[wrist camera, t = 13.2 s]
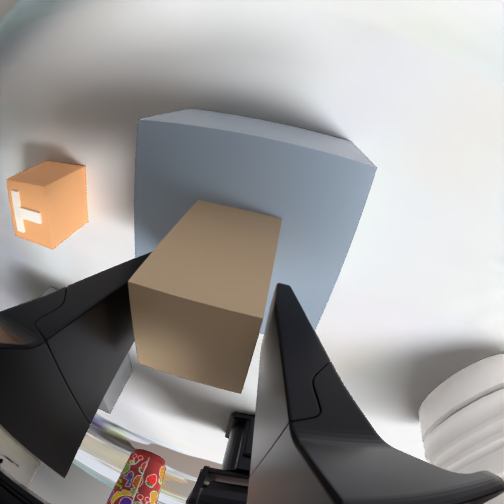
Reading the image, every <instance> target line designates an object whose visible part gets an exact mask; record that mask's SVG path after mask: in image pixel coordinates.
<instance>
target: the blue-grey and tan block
mask: <svg viewBox="0 0 504 504" xmlns="http://www.w3.org/2000/svg"><path fill="white" fill-rule="evenodd" d="M376 169H377V167H376V166H375V165H374V164H373V163H372V162H371V161H370V160H369V159H368V158H367V157H366V156H365V155H364V154H363V153H362V152H361V151H360V150H359V149H358V148H357V147H356V146H355V145H354V144H353V143H352V142H351V141H347V140H344V139H340V138H337V137H333V136H330V135H326V134H322V133H318V132H314V131H310V130H306V129H302V128H298V127H294V126H290V125H285V124H280V123H276V122H271V121H266V120H261V119H256V118H250V117H245V116H239V115H233V114H227V113H220V112H214V111H206V110H199V109H186V110H180V111H175V112H170V113H165V114H160V115H155V116H151V117H146V118H142V119H138V130H137V144H136V161H135V193H134V227H135V258H137V257H139V256H142V255H144V254H147V253H149V252H152V253H151V254H150V255H149V256H148V258H147V259H146V260H145V261H144V262H143V264H142V265H141V266H140V267H139V268H138V270H137V271H136V272H135V273H134V274H133V276H132V277H131V278H130V279H129V281H128V288H129V298H130V307H131V315H132V323H133V330H134V337H135V344H136V350H137V356H138V362H139V363H140V364H143V365H145V366H148V367H151V368H154V369H157V370H160V371H163V372H166V373H169V374H172V375H175V376H178V377H181V378H185V379H188V380H191V381H195V382H198V383H202V384H205V385H209V386H213V387H216V388H220V389H224V390H228V391H232V392H236V393H240V394H241V392H242V389H243V386H244V382H245V379H246V376H247V373H248V369H249V366H250V363H251V359H252V356H253V352H254V349H255V346H256V342H257V339H258V335H259V333H261V334H264V332H265V328H266V323H267V318H268V314H269V309H270V305H271V301H272V298H273V294H274V291H275V287H276V284H277V283H282V284H287V285H290V286H291V288H292V290H293V292H294V293H295V295H296V297H297V299H298V301H299V303H300V304H301V306H302V308H303V310H304V312H305V314H306V316H307V317H308V319H309V321H310V323H311V325H312V327H313V329H314V331H315V329H316V327H317V325H318V323H319V320H320V318H321V316H322V314H323V311H324V309H325V307H326V304H327V302H328V300H329V297H330V295H331V293H332V290H333V288H334V286H335V283H336V281H337V278H338V276H339V273H340V271H341V268H342V266H343V263H344V261H345V258H346V255H347V253H348V250H349V248H350V245H351V242H352V240H353V237H354V234H355V231H356V229H357V226H358V223H359V220H360V217H361V215H362V212H363V209H364V206H365V203H366V200H367V197H368V194H369V191H370V188H371V185H372V182H373V179H374V175H375V172H376Z"/></svg>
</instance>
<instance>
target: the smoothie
mask: <svg viewBox="0 0 504 504" xmlns="http://www.w3.org/2000/svg"><path fill="white" fill-rule="evenodd" d="M165 471H166V467H165V461H164V460H163V459H162V458H161V457H160V456H158V455H156V454H153V453H151V452H149V451H146V450H141V449H136V451H135V452H134V453H131V455H130V457H129V459H128V461H127V463H126V465H125V467H124V469H123V471H122V473H121V475H120V477H119V479H118V481H117V483H116V485H115V487H114V489H113V491H112V493H111V495H110V497H109V499H108V501H107V503H106V504H157V501H158V497H159V493H160V489H161V486H162V482H163V478H164V474H165Z"/></svg>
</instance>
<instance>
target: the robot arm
mask: <svg viewBox="0 0 504 504" xmlns="http://www.w3.org/2000/svg"><path fill="white" fill-rule="evenodd" d="M151 253H152V252H149V253H147V254H144V255H142V256H139V257H137V258H134V259H132V260H129V261H127V262H124V263H122V264H119V265H117V266H114V267H112V268H110V269H107V270H105V271H102V272H100V273H97V274H95V275H93V276H90V277H88V278H85V279H83V280H81V281H78V282H76V283H74V284H71V285H69V286H68V287H64V288H62V289H60V290H57V291H55V292H52V293H50V294H48V295H45V296H43V297H40V298H37V299H34V300H32V301H29V302H26V303H23V304H20V305H17V306H15V307H12V308H9V309H6V310H3V311H0V504H50V503H48V502H47V501H45V500H44V499H42V498H41V497H39V496H38V495H36V494H35V493H33V492H32V491H31V490H29V489H28V487H29V485H30V483H31V480H32V479H33V476H34V474H35V472H36V470H37V468H38V466H39V465H40V463H41V464H42V465H44V466H45V467H47V468H48V469H50V470H51V471H53V472H55V473H56V474H58V475H60V476H61V477H63V478H65V477H66V475H67V473H68V470H69V468H70V466H71V464H72V462H73V460H74V457H75V455H76V453H77V451H78V449H79V447H80V445H81V443H82V440H83V438H84V436H85V434H86V432H87V430H88V428H89V426H90V424H91V422H92V420H93V418H94V416H95V414H96V412H97V410H98V408H99V406H100V404H101V402H102V400H103V398H104V396H105V394H106V392H107V390H108V389H109V387H110V385H111V383H112V381H113V379H114V377H115V375H116V374H117V372H118V370H119V368H120V366H121V364H122V363H123V361H124V359H125V357H126V355H127V353H128V352H129V350H130V348H131V346H132V345H133V343H134V341H135V337H134V330H133V323H132V315H131V307H130V298H129V288H128V281H129V279H130V278H131V277H132V276H133V274H134V273H135V272H136V271H137V270H138V268H139V267H140V266H141V265H142V264H143V262H144V261H145V260H146V259H147V258H148V256H149V255H150V254H151ZM225 437H226V438H229V440H228V444H227V448H226V452H225V456H224V460H223V464H222V468H221V470H220V469H215V468H210V467H209V466H204V468H203V469H201V471H200V474H199V477H198V479H197V482H196V484H195V487H194V488H193V490H192V492H191V493H190V495H189V497H188V498H187V500H186V504H483V503H485V502H487V501H489V500H491V499H493V498H495V497H497V496H499V495H500V494H502V493H503V492H504V480H503V479H502V478H501V477H499V476H498V475H495V474H494V473H492V472H490V471H486V470H483V471H479V472H475V473H469V474H462V473H456V472H451V471H448V470H445V469H442V468H440V467H437V466H435V465H432V464H430V463H427V462H425V461H422V460H420V459H418V458H415V457H413V456H411V455H408V454H406V453H404V452H402V451H399V450H397V449H395V448H393V447H391V446H390V445H388V444H387V443H386V442H385V441H383V440H382V438H381V437H380V436H379V435H378V434H377V433H376V431H375V430H374V428H373V427H372V426H371V424H370V423H369V421H368V420H367V418H366V417H365V415H364V414H363V413H362V411H361V410H360V408H359V407H358V405H357V404H356V402H355V401H354V400H353V398H352V397H351V395H350V393H349V392H348V390H347V389H346V387H345V386H344V384H343V382H342V381H341V379H340V377H339V375H338V374H337V372H336V370H335V368H334V366H333V364H332V362H330V359H329V357H328V355H327V353H326V351H325V349H324V347H323V346H322V344H321V342H320V340H319V338H318V336H317V334H316V332H315V331H314V329H313V327H312V325H311V323H310V321H309V319H308V317H307V316H306V314H305V312H304V310H303V308H302V306H301V304H300V303H299V301H298V299H297V297H296V295H295V293H294V292H293V290H292V288H291V286H290V285H287V284H282V283H277V284H276V287H275V291H274V294H273V298H272V301H271V305H270V309H269V314H268V318H267V323H266V328H265V332H264V337H263V341H262V346H261V353H260V364H259V377H258V389H257V400H256V412H255V417H253V416H249V415H244V414H240V413H232V414H231V417H230V421H229V424H228V428H227V431H226V434H225Z"/></svg>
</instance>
